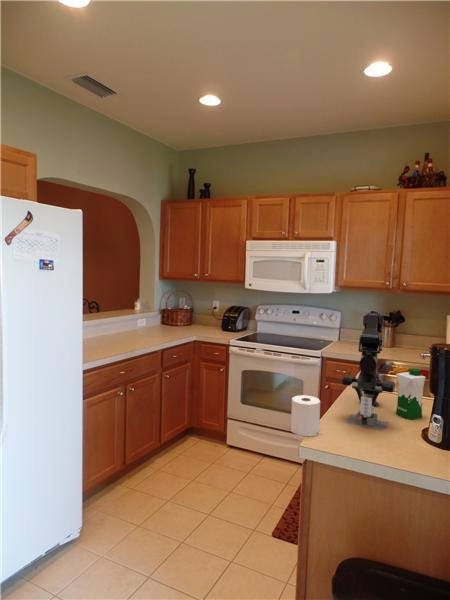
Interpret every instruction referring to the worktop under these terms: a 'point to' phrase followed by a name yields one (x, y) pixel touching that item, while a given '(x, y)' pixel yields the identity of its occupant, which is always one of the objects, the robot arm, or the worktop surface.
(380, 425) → the stand
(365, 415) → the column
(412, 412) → the milk carton
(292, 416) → the toilet paper
